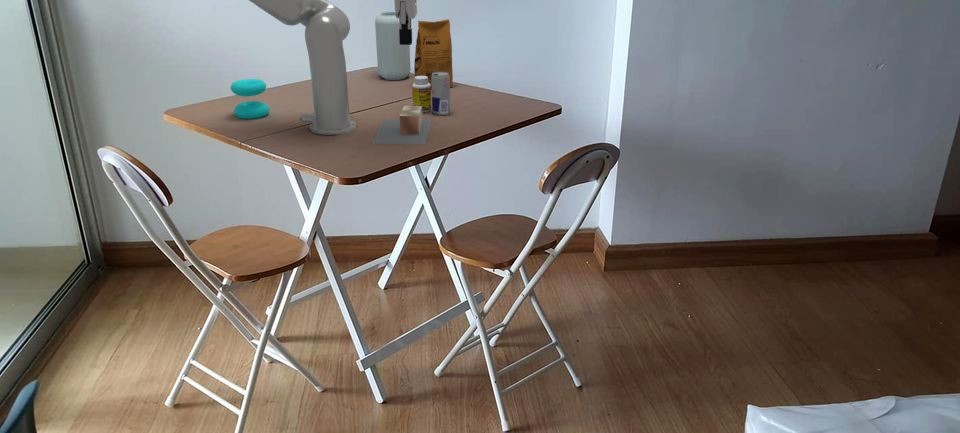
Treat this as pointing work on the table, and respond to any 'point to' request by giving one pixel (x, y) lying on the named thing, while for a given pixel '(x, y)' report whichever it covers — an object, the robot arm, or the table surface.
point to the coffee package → (433, 49)
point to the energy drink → (440, 93)
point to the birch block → (411, 120)
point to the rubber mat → (391, 134)
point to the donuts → (251, 107)
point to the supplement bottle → (422, 93)
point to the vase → (391, 48)
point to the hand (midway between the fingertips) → (405, 44)
